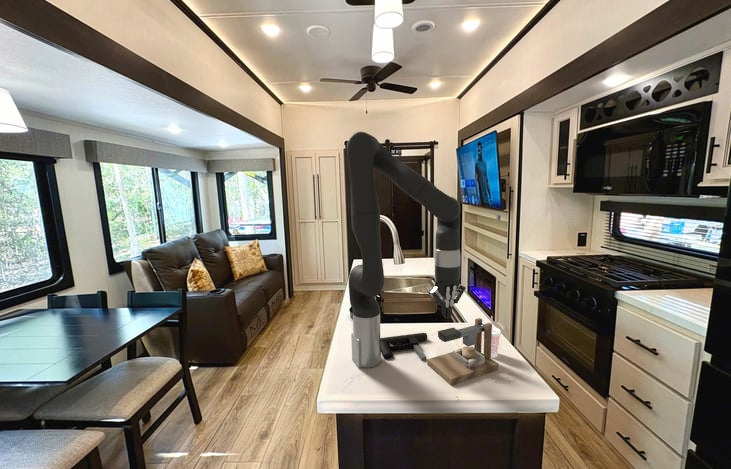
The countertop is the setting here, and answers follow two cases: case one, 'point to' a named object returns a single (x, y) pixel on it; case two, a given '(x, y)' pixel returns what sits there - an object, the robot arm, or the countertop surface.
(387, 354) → the black toy gun
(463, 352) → the wooden nut
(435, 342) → the countertop surface
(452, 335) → the nutcracker lever
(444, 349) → the countertop surface
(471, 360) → the nutcracker bench
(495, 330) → the beverage cup
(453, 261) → the robot arm
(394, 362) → the countertop surface
